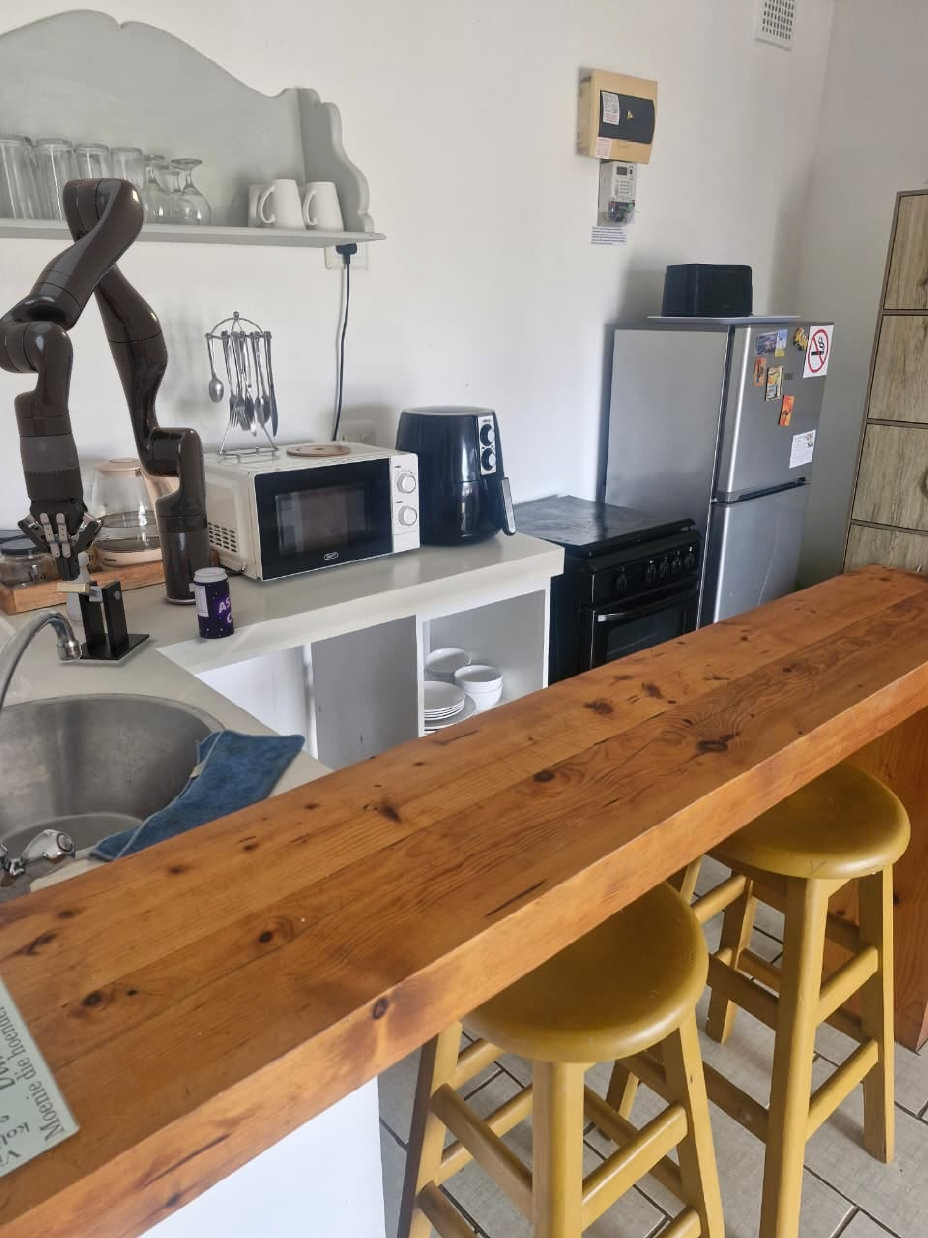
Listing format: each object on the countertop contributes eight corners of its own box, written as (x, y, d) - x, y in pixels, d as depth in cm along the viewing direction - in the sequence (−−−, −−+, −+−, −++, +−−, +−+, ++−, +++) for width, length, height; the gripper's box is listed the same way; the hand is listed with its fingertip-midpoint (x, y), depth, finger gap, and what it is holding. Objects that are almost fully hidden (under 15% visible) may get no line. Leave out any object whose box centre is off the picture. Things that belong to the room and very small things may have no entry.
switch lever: (84, 595, 132) (85, 579, 132) (56, 594, 132) (57, 579, 133) (117, 603, 142) (118, 589, 142) (91, 603, 142) (92, 588, 142)
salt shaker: (81, 628, 156) (69, 558, 151) (61, 623, 159) (49, 554, 154) (109, 619, 160) (98, 550, 156) (89, 614, 163) (79, 547, 159)
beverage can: (225, 644, 147) (217, 576, 143) (194, 643, 148) (186, 575, 144) (240, 633, 152) (233, 567, 148) (210, 631, 153) (202, 566, 149)
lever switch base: (119, 665, 138) (108, 595, 134) (65, 664, 139) (53, 593, 135) (150, 641, 149) (141, 575, 145) (100, 640, 150) (90, 574, 146)
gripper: (107, 461, 129) (123, 573, 135) (24, 461, 131) (43, 572, 136) (80, 469, 122) (98, 587, 128) (-7, 469, 124) (14, 586, 129)
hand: (70, 579), depth 132 cm, fingers closed
